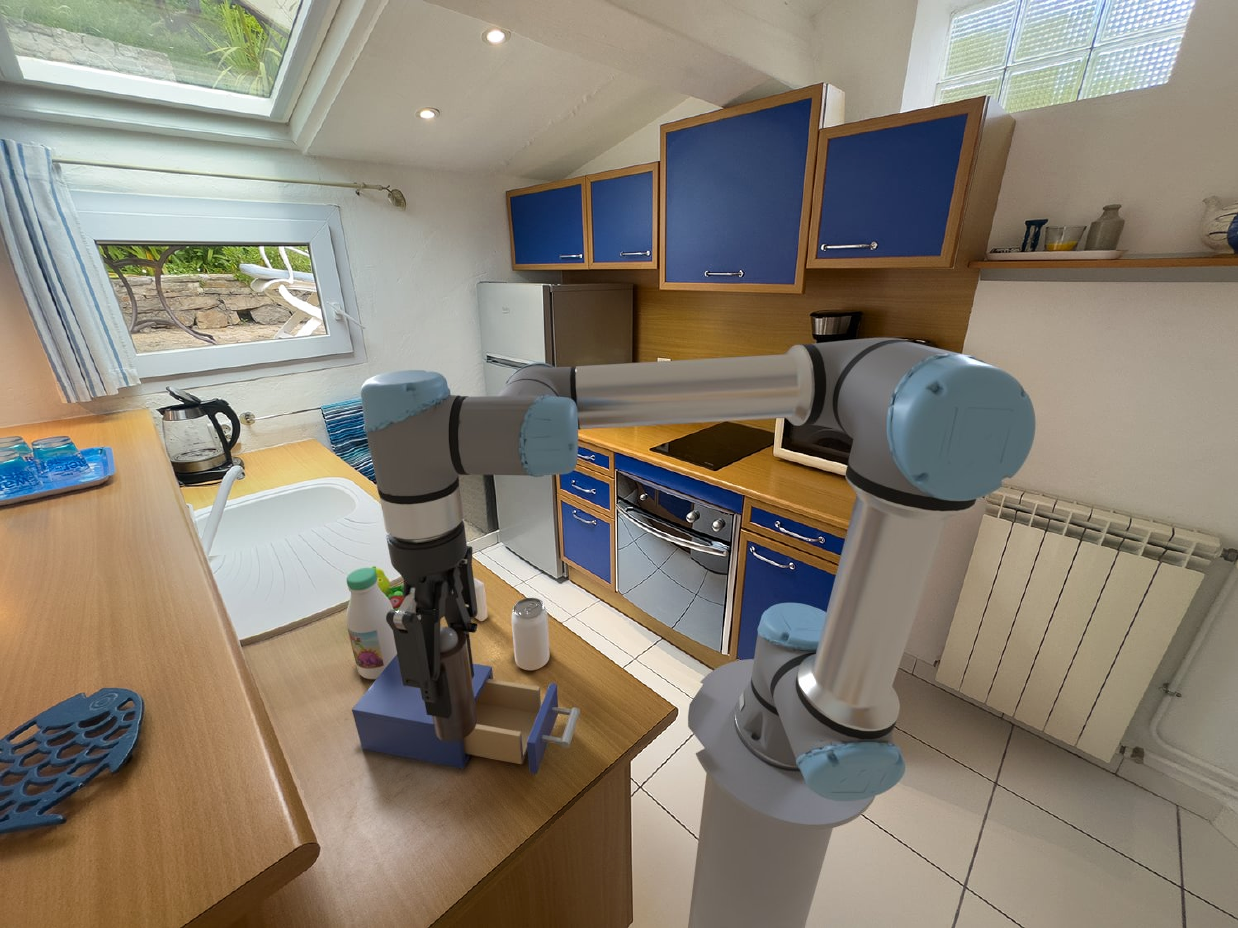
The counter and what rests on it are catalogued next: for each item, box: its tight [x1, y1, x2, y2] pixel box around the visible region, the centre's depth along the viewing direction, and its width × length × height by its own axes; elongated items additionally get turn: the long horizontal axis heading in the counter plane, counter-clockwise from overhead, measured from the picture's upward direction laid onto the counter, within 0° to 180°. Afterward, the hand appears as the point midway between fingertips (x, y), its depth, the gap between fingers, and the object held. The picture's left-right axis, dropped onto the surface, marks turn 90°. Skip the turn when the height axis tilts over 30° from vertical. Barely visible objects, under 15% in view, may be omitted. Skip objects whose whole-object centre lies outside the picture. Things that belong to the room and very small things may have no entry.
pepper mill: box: [432, 626, 477, 742], centre depth 58 cm, size 5×5×15 cm
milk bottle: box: [345, 567, 397, 680], centre depth 87 cm, size 8×8×20 cm
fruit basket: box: [347, 565, 404, 611], centre depth 100 cm, size 11×9×11 cm
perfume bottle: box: [465, 577, 489, 622], centre depth 103 cm, size 8×2×12 cm, turn 52°
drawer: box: [463, 678, 581, 775], centre depth 76 cm, size 20×11×6 cm, turn 80°
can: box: [511, 597, 550, 672], centre depth 91 cm, size 6×6×12 cm
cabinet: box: [351, 654, 494, 769], centre depth 78 cm, size 17×12×8 cm
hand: (451, 693), depth 59 cm, fingers closed on pepper mill, 5 cm apart
